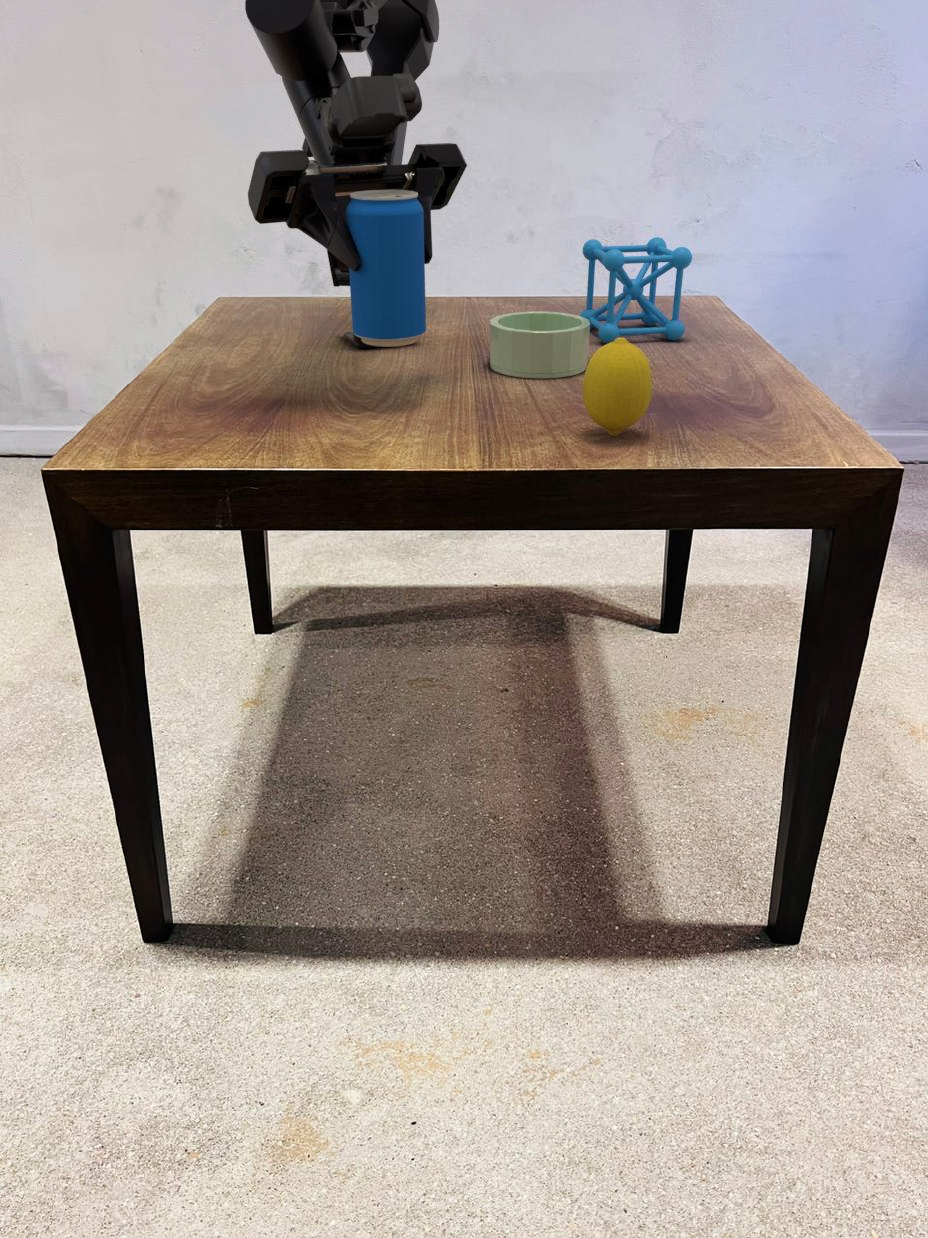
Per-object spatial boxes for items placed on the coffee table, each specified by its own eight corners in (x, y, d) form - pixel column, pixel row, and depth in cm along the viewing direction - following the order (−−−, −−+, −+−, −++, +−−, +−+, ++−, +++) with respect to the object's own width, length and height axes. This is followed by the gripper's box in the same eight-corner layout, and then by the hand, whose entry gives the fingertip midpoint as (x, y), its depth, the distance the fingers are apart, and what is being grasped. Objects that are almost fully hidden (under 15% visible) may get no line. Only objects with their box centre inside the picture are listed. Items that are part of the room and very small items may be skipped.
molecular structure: (686, 341, 110) (696, 247, 106) (601, 346, 109) (607, 250, 104) (655, 323, 119) (663, 235, 114) (576, 326, 117) (580, 237, 113)
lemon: (605, 450, 78) (612, 348, 74) (567, 431, 82) (572, 334, 78) (661, 439, 80) (671, 340, 76) (621, 421, 85) (628, 326, 81)
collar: (475, 359, 104) (475, 315, 102) (560, 350, 107) (561, 308, 105) (514, 382, 96) (515, 335, 94) (604, 372, 99) (607, 327, 97)
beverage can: (439, 342, 86) (437, 194, 80) (373, 352, 83) (366, 199, 77) (404, 328, 91) (400, 187, 85) (341, 336, 88) (332, 191, 82)
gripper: (243, 34, 74) (313, 206, 72) (455, 36, 83) (525, 190, 80) (222, 143, 84) (283, 298, 81) (413, 135, 93) (474, 276, 90)
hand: (393, 264), depth 83 cm, fingers closed on beverage can, 6 cm apart
